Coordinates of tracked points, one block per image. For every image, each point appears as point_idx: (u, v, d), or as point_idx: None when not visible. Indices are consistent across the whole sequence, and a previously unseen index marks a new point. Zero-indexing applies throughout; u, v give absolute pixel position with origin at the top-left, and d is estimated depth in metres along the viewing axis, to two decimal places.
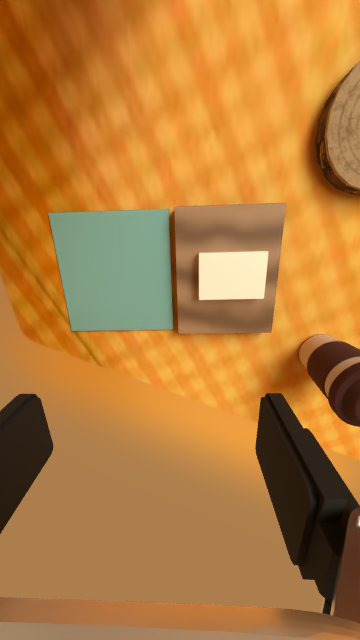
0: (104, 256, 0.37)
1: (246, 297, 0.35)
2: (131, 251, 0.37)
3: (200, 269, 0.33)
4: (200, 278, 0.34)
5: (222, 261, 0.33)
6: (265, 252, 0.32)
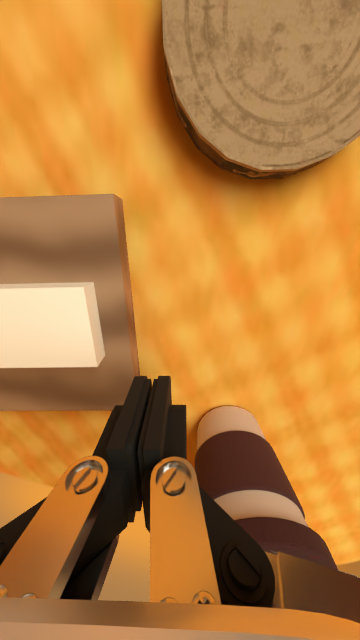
0: None
1: (66, 364, 0.19)
2: None
3: None
4: None
5: (3, 304, 0.18)
6: (78, 289, 0.17)
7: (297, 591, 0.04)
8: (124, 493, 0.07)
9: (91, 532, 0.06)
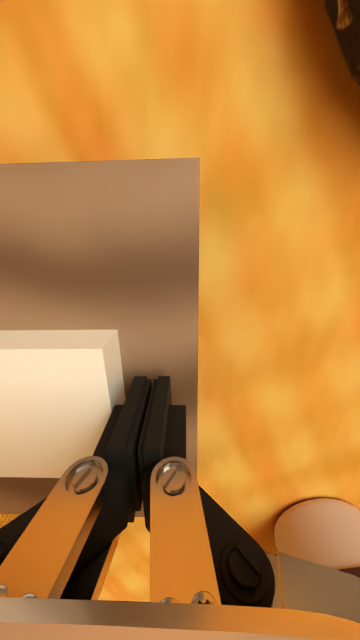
0: None
1: None
2: None
3: None
4: None
5: None
6: (92, 352, 0.09)
7: (297, 591, 0.04)
8: (124, 493, 0.07)
9: (91, 532, 0.06)
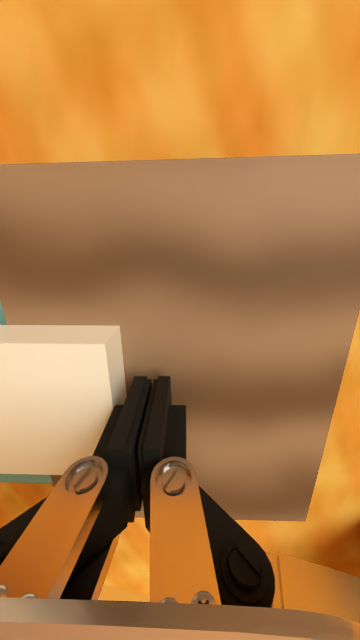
0: None
1: None
2: None
3: None
4: None
5: None
6: (94, 347, 0.09)
7: (297, 591, 0.04)
8: (124, 493, 0.07)
9: (91, 532, 0.06)
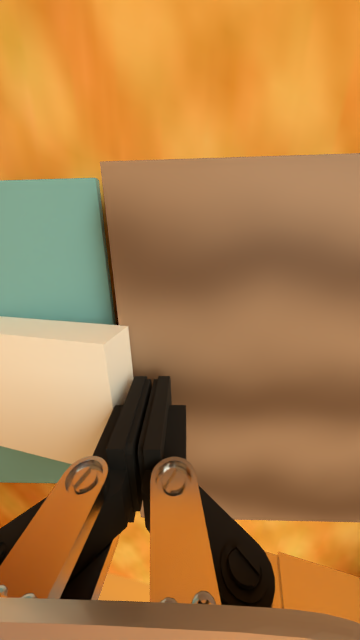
0: None
1: (73, 461, 0.11)
2: None
3: None
4: None
5: None
6: (94, 346, 0.09)
7: (297, 591, 0.04)
8: (124, 493, 0.07)
9: (91, 532, 0.06)
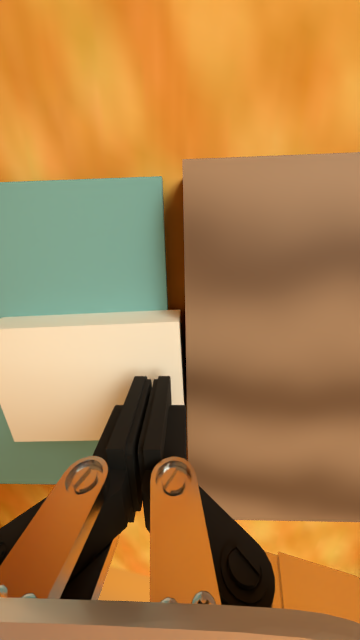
0: None
1: None
2: (52, 307, 0.12)
3: None
4: (0, 393, 0.12)
5: (47, 351, 0.11)
6: (170, 324, 0.10)
7: (297, 591, 0.04)
8: (124, 493, 0.07)
9: (91, 532, 0.06)
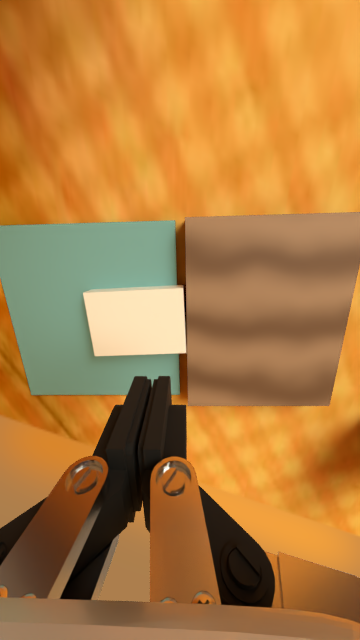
0: (76, 290, 0.24)
1: (161, 351, 0.24)
2: (116, 284, 0.24)
3: (89, 315, 0.23)
4: (91, 327, 0.23)
5: (118, 303, 0.23)
6: (178, 289, 0.22)
7: (297, 591, 0.04)
8: (124, 493, 0.07)
9: (91, 532, 0.06)
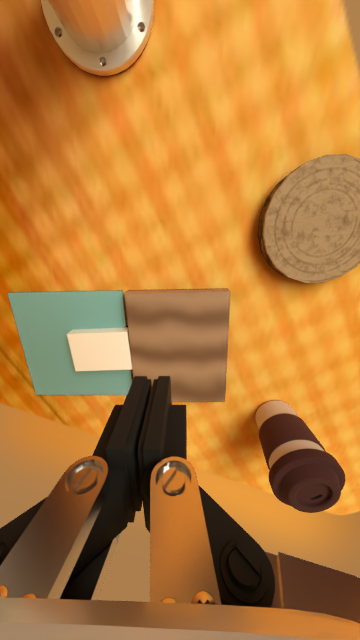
0: (63, 330, 0.39)
1: (116, 368, 0.39)
2: (88, 326, 0.38)
3: (71, 346, 0.38)
4: (72, 354, 0.38)
5: (88, 340, 0.37)
6: (124, 332, 0.36)
7: (297, 591, 0.04)
8: (124, 493, 0.07)
9: (91, 532, 0.06)
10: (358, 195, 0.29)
